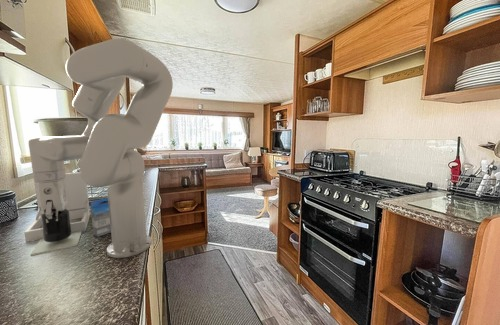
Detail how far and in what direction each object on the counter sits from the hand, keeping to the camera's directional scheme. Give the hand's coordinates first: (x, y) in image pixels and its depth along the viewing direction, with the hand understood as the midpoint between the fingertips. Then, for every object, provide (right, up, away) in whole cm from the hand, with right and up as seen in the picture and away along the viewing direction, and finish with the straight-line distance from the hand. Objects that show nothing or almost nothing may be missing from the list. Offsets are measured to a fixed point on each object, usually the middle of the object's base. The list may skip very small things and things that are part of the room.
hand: (57, 228), depth 70 cm
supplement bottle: (0, -3, 0) cm, 3 cm away
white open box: (-10, -3, +12) cm, 16 cm away
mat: (0, -5, +1) cm, 5 cm away
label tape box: (+11, -4, +9) cm, 15 cm away
